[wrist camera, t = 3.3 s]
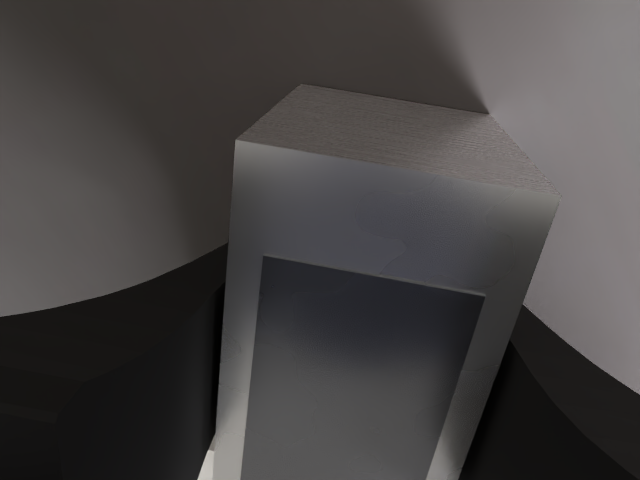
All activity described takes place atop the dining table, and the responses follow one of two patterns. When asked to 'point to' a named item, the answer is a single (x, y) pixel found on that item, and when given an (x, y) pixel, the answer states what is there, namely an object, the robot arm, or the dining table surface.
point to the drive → (370, 286)
